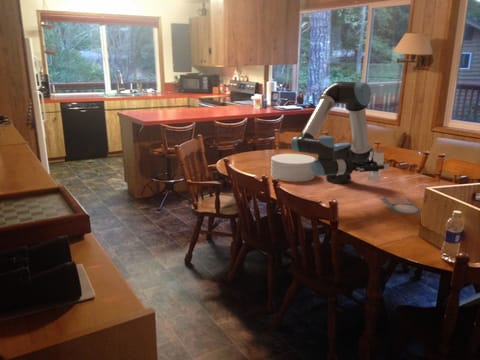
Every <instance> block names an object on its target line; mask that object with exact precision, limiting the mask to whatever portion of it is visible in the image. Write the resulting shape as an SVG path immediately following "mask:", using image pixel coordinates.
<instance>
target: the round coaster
mask: <svg viewBox="0 0 480 360" xmlns="http://www.w3.org/2000/svg"><path fill="white" fill-rule="evenodd" d="M394 210H396V211H398V212H401V213H408V214H407V215H413V214H412V213H417V212H418V209H417V208H416V207H414V206H411V205H404V204H399V205H395V206H394Z"/></svg>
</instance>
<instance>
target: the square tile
mask: <svg viewBox="0 0 480 360" xmlns="http://www.w3.org/2000/svg"><path fill="white" fill-rule="evenodd" d="M384 198H385V199H386V200H387V201H388V202H389V203H390V204H391V205H399V204H404V205H411V203H410V202H409V201H408V200H407V199H408V198H405V197H390V196H389V197H387V196H386V197H384Z"/></svg>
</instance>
